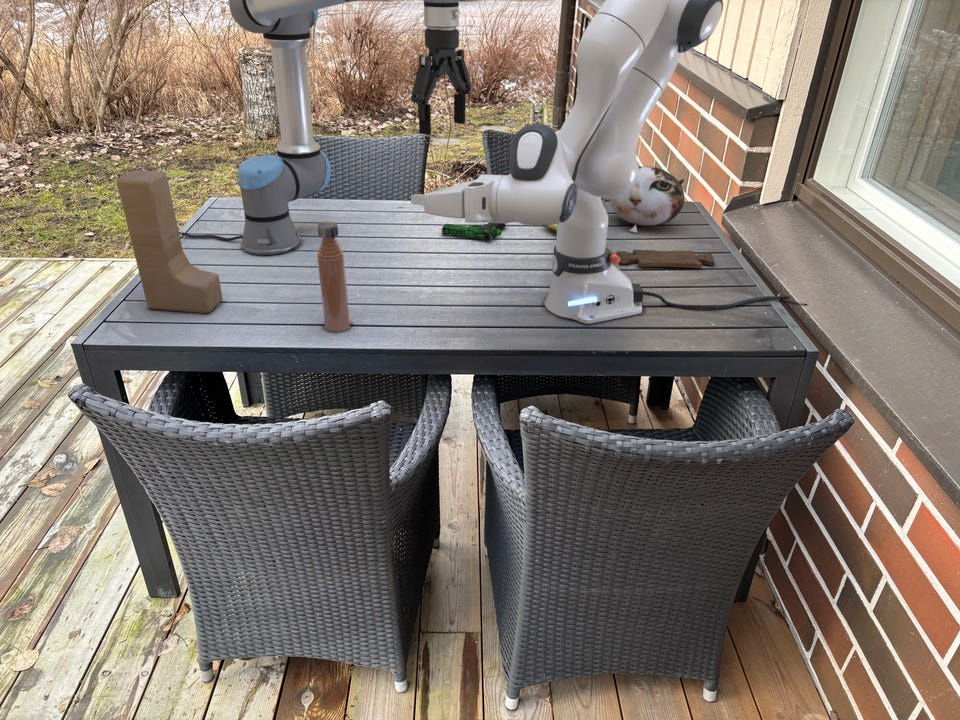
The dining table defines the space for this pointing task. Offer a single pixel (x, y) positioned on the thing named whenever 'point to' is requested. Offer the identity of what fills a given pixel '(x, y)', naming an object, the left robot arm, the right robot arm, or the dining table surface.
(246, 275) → the dining table surface
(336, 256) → the bottle
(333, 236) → the cap
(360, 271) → the dining table surface
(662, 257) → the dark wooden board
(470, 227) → the handgun
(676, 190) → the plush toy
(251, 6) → the left robot arm
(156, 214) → the decorative block
